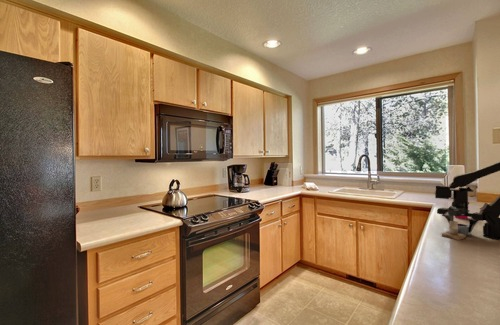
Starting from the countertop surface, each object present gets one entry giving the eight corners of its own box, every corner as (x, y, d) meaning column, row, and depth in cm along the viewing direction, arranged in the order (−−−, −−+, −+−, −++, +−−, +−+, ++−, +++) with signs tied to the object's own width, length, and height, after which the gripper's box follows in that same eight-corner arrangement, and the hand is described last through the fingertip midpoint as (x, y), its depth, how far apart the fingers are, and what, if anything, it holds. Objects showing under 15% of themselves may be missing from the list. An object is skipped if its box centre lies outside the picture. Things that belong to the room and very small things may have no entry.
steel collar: (472, 233, 121) (472, 225, 121) (466, 235, 118) (466, 227, 118) (455, 230, 128) (455, 222, 128) (449, 232, 124) (449, 224, 124)
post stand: (466, 237, 116) (466, 222, 116) (459, 239, 113) (458, 224, 113) (448, 233, 122) (448, 219, 122) (441, 235, 119) (441, 221, 119)
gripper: (431, 198, 127) (431, 228, 127) (477, 204, 111) (477, 238, 111) (442, 197, 132) (442, 225, 133) (487, 201, 116) (488, 234, 116)
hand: (460, 230), depth 123 cm, fingers closed on steel collar, 7 cm apart
